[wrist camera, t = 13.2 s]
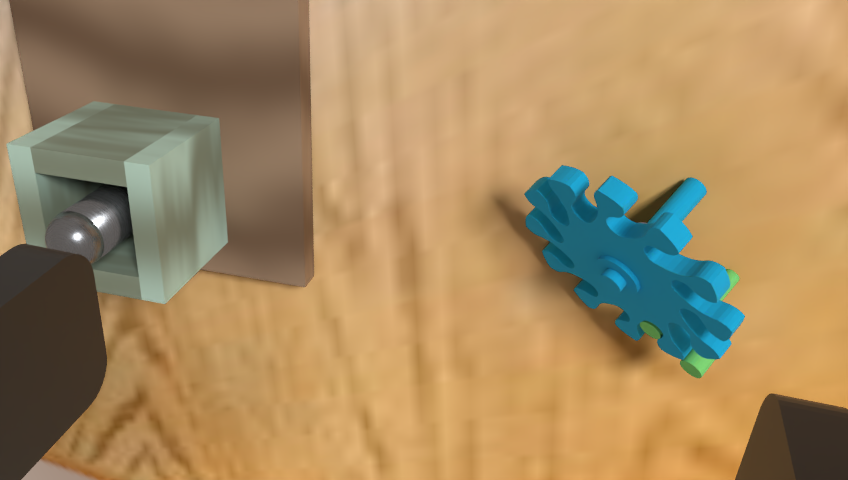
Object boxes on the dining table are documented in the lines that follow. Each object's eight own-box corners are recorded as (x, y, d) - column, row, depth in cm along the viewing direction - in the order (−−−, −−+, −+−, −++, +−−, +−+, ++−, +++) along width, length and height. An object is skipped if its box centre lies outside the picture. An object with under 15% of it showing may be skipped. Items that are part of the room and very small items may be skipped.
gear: (476, 185, 35) (636, 196, 26) (563, 99, 36) (742, 81, 28) (602, 358, 39) (777, 419, 30) (674, 274, 41) (861, 307, 32)
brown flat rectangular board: (-15, -239, 33) (-36, -241, 32) (304, -225, 31) (292, -227, 30) (69, 234, 44) (55, 244, 42) (314, 275, 41) (305, 287, 40)
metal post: (140, 148, 38) (26, 219, 31) (186, 154, 38) (81, 228, 31) (146, 194, 40) (37, 272, 32) (191, 200, 39) (90, 282, 32)
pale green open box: (93, 101, 38) (6, 143, 33) (219, 118, 37) (149, 165, 32) (111, 223, 41) (33, 279, 36) (227, 242, 40) (165, 303, 34)
